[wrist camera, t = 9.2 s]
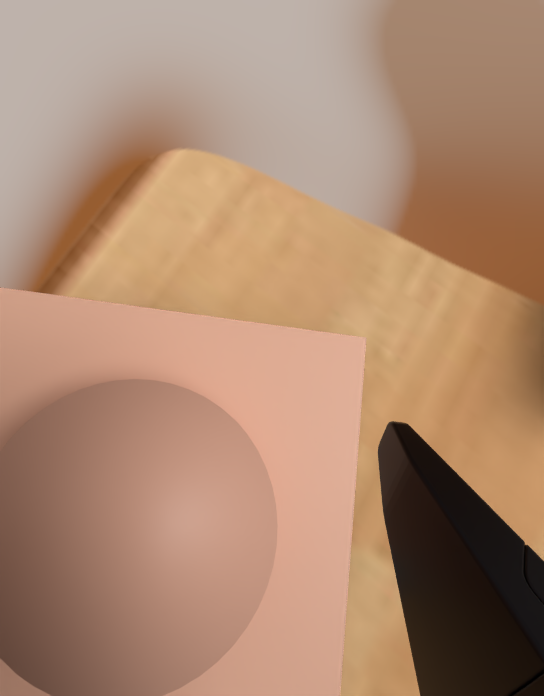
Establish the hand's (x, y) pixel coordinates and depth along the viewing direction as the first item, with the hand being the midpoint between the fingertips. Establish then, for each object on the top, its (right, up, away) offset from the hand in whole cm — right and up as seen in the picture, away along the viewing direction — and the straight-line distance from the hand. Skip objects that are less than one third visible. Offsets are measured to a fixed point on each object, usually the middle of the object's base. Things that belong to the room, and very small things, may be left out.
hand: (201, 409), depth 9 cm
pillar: (-1, -3, +7) cm, 8 cm away
